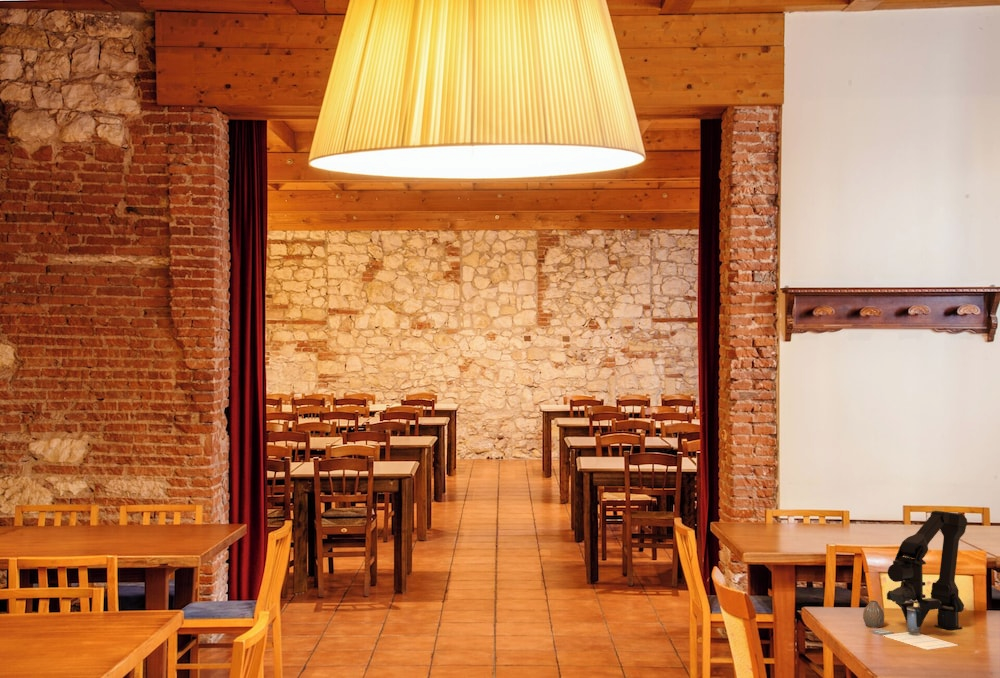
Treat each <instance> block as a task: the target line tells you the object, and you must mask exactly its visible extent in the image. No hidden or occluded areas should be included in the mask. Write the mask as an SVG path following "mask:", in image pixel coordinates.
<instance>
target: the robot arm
mask: <svg viewBox="0 0 1000 678" xmlns="http://www.w3.org/2000/svg"><path fill="white" fill-rule="evenodd" d="M967 525H968V519H967V518H966V516H965V515H964V513H959V512H951V511H949V512H948V511H941V510H934V511H933V510H932V511H931V512H930V516H929V517H928V519H926V520H925V522H923V524H922V526H920V528H919V529H918V530H917V532H916V533H915V534H912V535H910V536H908V537H906V538H905V539H904V540H903V541H901V544H900V545H899V549H898V551H897V554H896V556H895V558H894V560H893V561H892V564H891V565H890V566H889V567H888V569H887V576H888V578H889V579H890V580H891V581H893V582H894V583H899V582H900V586H899V587H896V588H894V589H892V590H888V592H887V593H886V600H889V601H892V602H893V603H895V604H896V605H897V606H899V607H900V609H901V612H902V613H903V616H904V619H905V622H906V623H907V607H909V606H913V608H914V610H915V611H916V621H917V627H920V628H921V627H922V625H923V623H924V621H925V619H926V617H927V615H928V613H930V612H929V611H931V610H932V611H933V610H934V611H935V610H937V618H936V619H937V620H936V621H937V623H936V624H934V627H937V628H940V629H944V630H947V631H952V630H959V629H963V626H960V625H959V613H963V611H964V607H965V604H964V602H963V601H962V599H961V598H960V596H959V594H960V593H959V588H958V586H957V584H956V582H955V580H956V572H957V571H956V570H957V564H958V563H957V561H958V553H959V552H958V551H959V544H960V543H959V542H960V539H961V538H962V537H963V536H964V534H965V533H966V529H967ZM939 531H940V532H941V534H942V535H943V540H942V549H941V559H940V566H939V574H938V575H939V577H938V579H937V580H936V582H932V584H931V590H930V591H931V592H930V597H928V598H927V597H926V594H924V592H923V589H924V588H923V587H924V586H925V587H926V582H925V581H924V580H923V566H924V565H926V564H927V562H926V561H925V560H924V558H925V556H926V555H927V553H928V551H929V544H930V542H931V541H932V539H934V537H935V536H936V535H937V534H938V533H939ZM915 604H917V606H914V605H915Z"/></svg>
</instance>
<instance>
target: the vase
mask: <svg viewBox="0 0 1000 678" xmlns="http://www.w3.org/2000/svg"><path fill="white" fill-rule="evenodd" d="M862 619H863V623H864V625H866V626H867V627H868V628H873V629H877V628H880V627H882V626H883V624H884V621H885V613H884V610H883V608H882V607H881V606H880V604H879V602H878V601H877V600H869V602H868V604H867V605H866V606H865V608H864V609H863V613H862Z"/></svg>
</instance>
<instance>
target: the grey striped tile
mask: <svg viewBox="0 0 1000 678" xmlns="http://www.w3.org/2000/svg"><path fill="white" fill-rule="evenodd" d="M869 632H870V633H871V632H872V634H876V635H879V636H883V635H888V634H895V632H894V631H891V630H887V629H884V628H883V629H875V630H869Z"/></svg>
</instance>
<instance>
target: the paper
mask: <svg viewBox="0 0 1000 678" xmlns="http://www.w3.org/2000/svg"><path fill="white" fill-rule="evenodd" d="M884 636H885V637H884ZM882 637H884V638H888V639H891V640H895V641H898V642H901V643H904V644H908V645H911V646H914V647H917V648H920V649H923V650H928V651H929V650H935V649H944V648H951V647H953V648H954V647H958V646H959V645H958V643H957V644H955V643H953V642H950V641H949V642H948V641H945V640H942V639H939V638H936V637H931V636H929V635H925V634H923V633H909V632H907V631H906V632H899V633H894V634H886V635H882Z"/></svg>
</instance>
